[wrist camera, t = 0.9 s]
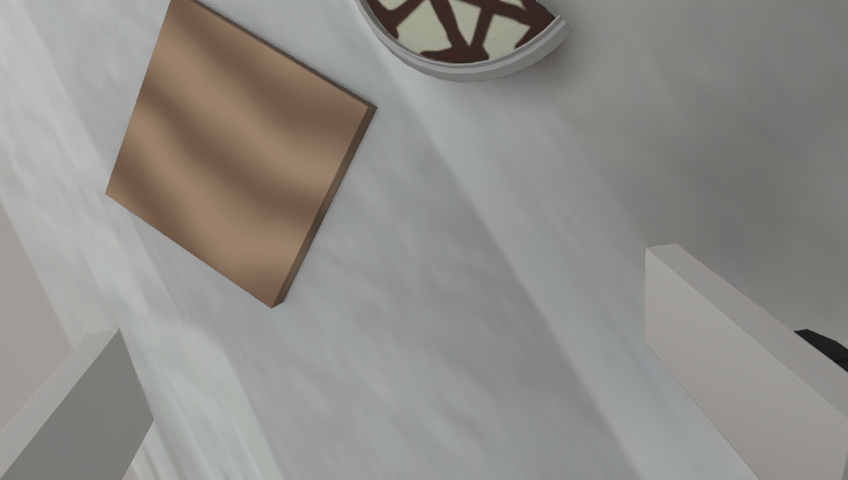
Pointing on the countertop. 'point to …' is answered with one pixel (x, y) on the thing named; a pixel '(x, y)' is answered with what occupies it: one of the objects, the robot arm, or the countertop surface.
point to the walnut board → (235, 149)
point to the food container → (465, 35)
